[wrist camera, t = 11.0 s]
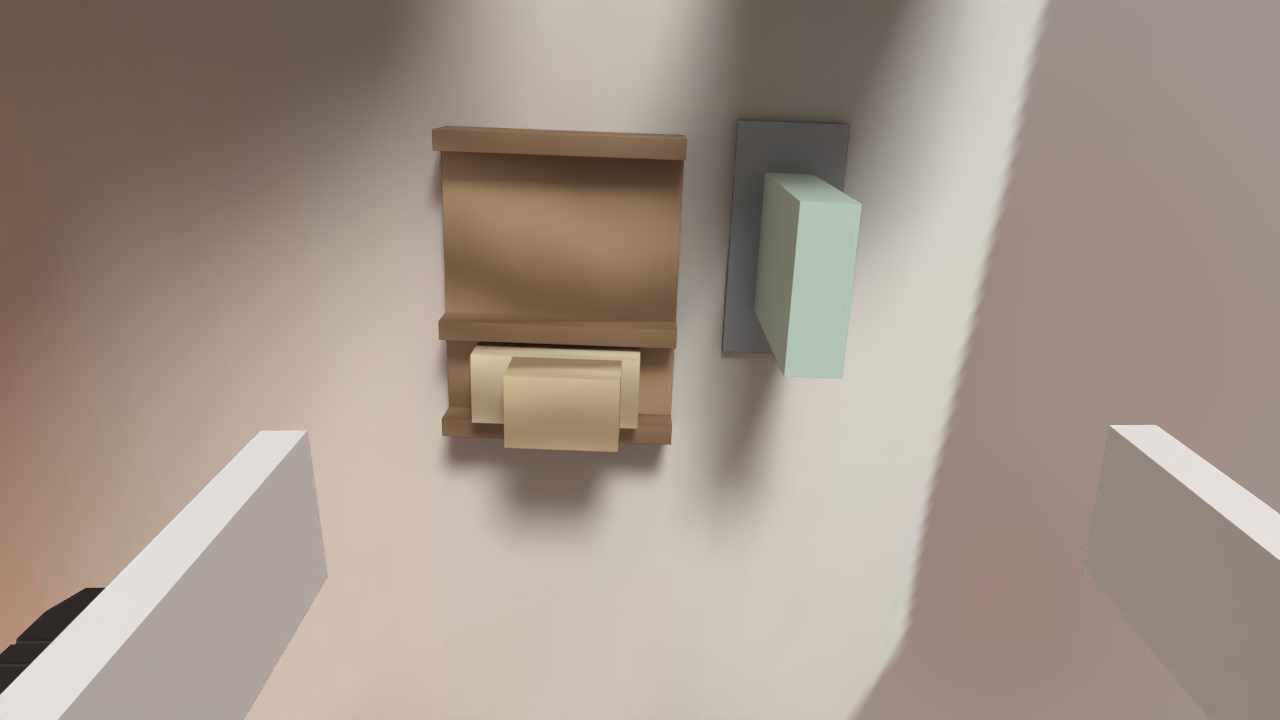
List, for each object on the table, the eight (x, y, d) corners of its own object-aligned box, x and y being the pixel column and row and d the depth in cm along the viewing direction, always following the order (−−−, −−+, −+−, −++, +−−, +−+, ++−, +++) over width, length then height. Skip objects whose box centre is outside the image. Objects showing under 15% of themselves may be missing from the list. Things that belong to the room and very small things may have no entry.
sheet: (764, 172, 37) (800, 201, 29) (812, 173, 37) (861, 203, 29) (754, 310, 39) (784, 376, 31) (799, 312, 39) (842, 378, 31)
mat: (737, 120, 37) (738, 120, 37) (847, 124, 37) (849, 124, 37) (722, 348, 40) (722, 351, 40) (823, 352, 40) (825, 355, 40)
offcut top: (512, 356, 37) (503, 376, 34) (621, 360, 37) (620, 380, 34) (513, 424, 38) (504, 447, 35) (619, 427, 38) (617, 452, 35)
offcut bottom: (481, 337, 39) (470, 354, 37) (640, 343, 39) (640, 361, 37) (482, 401, 40) (471, 422, 37) (637, 407, 40) (637, 428, 38)
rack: (445, 126, 37) (431, 129, 35) (684, 135, 37) (686, 139, 35) (454, 415, 41) (442, 436, 39) (669, 423, 41) (670, 444, 39)
